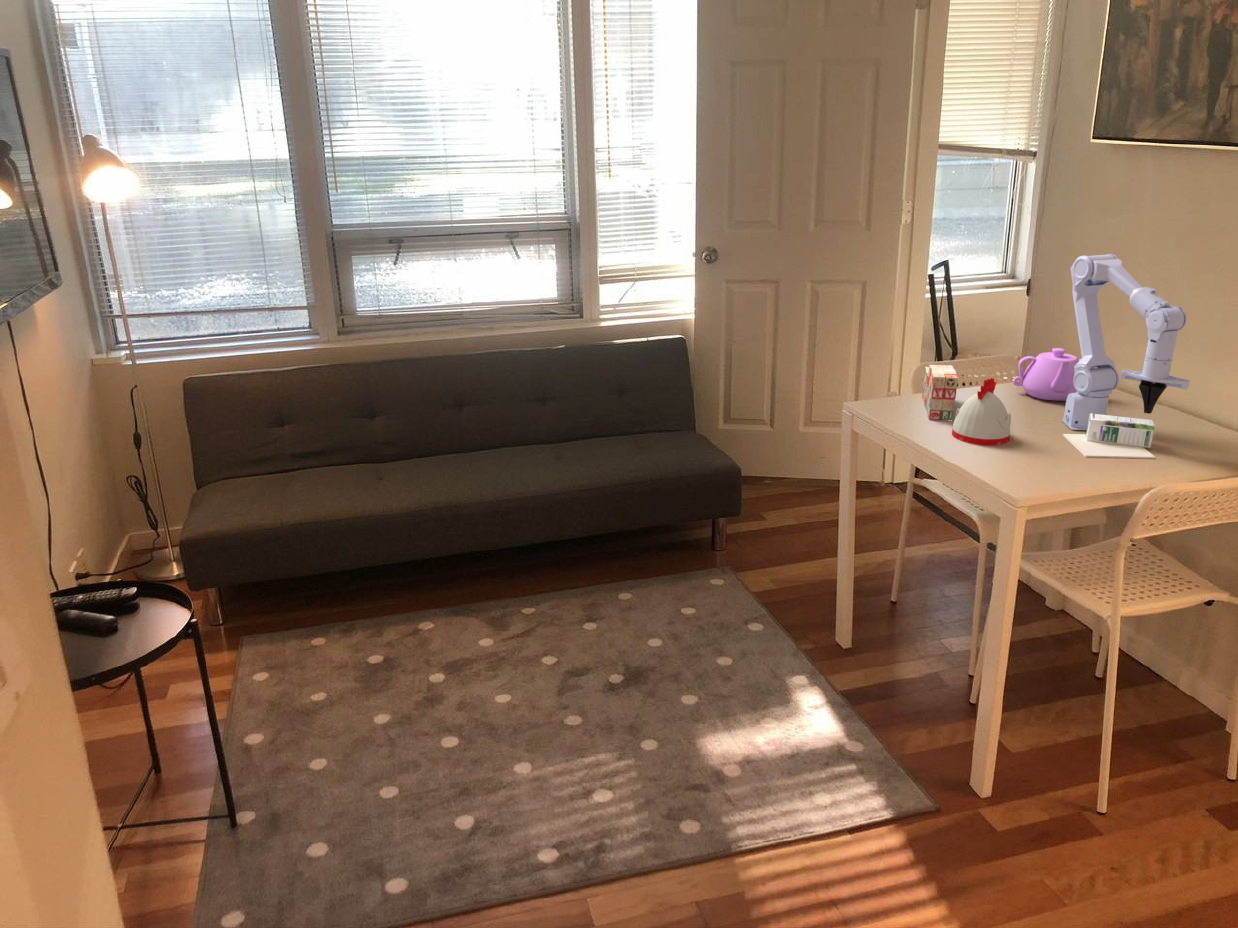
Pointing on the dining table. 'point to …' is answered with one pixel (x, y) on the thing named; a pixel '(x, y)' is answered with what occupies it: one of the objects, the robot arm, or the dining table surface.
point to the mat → (1106, 448)
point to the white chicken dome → (983, 418)
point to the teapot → (1048, 375)
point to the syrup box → (1120, 430)
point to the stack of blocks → (939, 391)
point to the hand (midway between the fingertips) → (1147, 412)
